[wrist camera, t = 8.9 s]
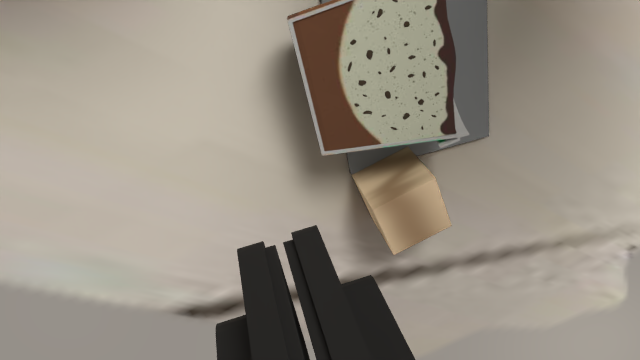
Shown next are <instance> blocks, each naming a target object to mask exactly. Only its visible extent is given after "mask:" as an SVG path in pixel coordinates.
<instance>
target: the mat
mask: <svg viewBox="0 0 640 360" xmlns="http://www.w3.org/2000/svg"><path fill="white" fill-rule="evenodd" d="M329 1H331V0H321V4H323V3H326V2H329ZM446 6H447V17H448V21H449V25H450V29H451V33H452V37H453V41H454V46H455V52H456V72H455V82H454V101H455V104H456V107H457V110H458V112H459V115H460V117H461V120H462V122H463V124H464V126H465V128H466V129H467V131H468V133H469V135H468V136H464V137H460V141H458V142H455V143H453V144H450V145H448V146H445V147H443V148H440V147H439V145H438V143H437V141H429V142H422V143H414V144H407V145H399V146H392V147H384V148H377V149H369V150H362V151H355V152H347V158H348V164H349V170H350V173H351V174H355V173H357V172H359V171H361V170H363V169H364V168H366V167H368V166H370V165H372V164H374V163H376V162H378V161H380V160H382V159H384V158H386V157H388V156H390V155H392V154H394V153H396V152H398V151H400V150H402V149H403V148H405V147H407V146H408V147H409V148H410V150H411V151H412V152H413V153H414V154H415V155H416V156H419V155H423V154H426V153H430V152H434V151H437V150H441V149H444V148H448V147H451V146H455V145H459V144H462V143H466V142H469V141H473V140H477V139H480V138H484V137H487V136H489V102H488V35H487V0H446Z"/></svg>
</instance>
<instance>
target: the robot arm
mask: <svg viewBox="0 0 640 360" xmlns="http://www.w3.org/2000/svg"><path fill="white" fill-rule="evenodd" d="M291 234H292V238H293V240H290V241H287V242H283V244H284V247H285V251H286V254H287V258H288V261H289V265H290V268H291V272H292V275H293V279H294V282H295V286H296V289H297V293H298V296H299V300H300V303H301V307H302V310H303V314H304V317H305V321H306V324H307V328H308V331H309V335H310V338H311V342H312V346H313V349H314V352H315V356H316V360H415V358H414V356H413V354H412V352H411V350H410V348H409V346H408V344H407V342H406V340H405V339H404V337H403V335H402V333H401V331H400V329H399V327H398V325H397V323H396V321H395V319H394V317H393V315H392V313H391V311H390V309H389V307H388V305H387V303H386V301H385V299H384V297H383V295H382V293H381V291H380V289H379V287H378V286H377V284H376V282H375V280H374V278H373V277H372V276H371V275H370V276H367V277H363V278H360V279H357V280H354V281H351V282H348V283H345V284H341V283H340V281H339V279H338V276H337V274H336V271H335V269H334V266H333V264H332V262H331V259H330V257H329V254H328V252H327V249H326V247H325V244H324V242H323V240H322V237H321V235H320V232H319V230H318V228H317V226H316V225H315V226H312V227H309V228H305V229H302V230H299V231H295V232H292V233H291ZM237 254H238V261H239V268H240V275H241V283H242V290H243V297H244V304H245V312H246V315H243V316H240V317H237V318H234V319H231V320H228V321H224V322H221V323H218V324H217V325H216V346H217V360H310V359H309V355H308V351H307V348H306V344H305V341H304V337H303V334H302V331H301V327H300V324H299V321H298V318H297V314H296V311H295V308H294V305H293V301H292V298H291V295H290V292H289V288H288V285H287V282H286V279H285V275H284V272H283V269H282V266H281V262H280V259H279V256H278V253H277V249H276V246H275V245H273V246H270V247H267V248H265V245H264V242H263V241H262V242H259V243H256V244H252V245H249V246H246V247H242V248H239V249H237Z"/></svg>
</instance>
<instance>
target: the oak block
mask: <svg viewBox="0 0 640 360" xmlns="http://www.w3.org/2000/svg"><path fill="white" fill-rule="evenodd" d="M352 177H353V179H354V181H355V183H356V185H357V187H358V190H359V192H360V194H361V196H362V198H363V200H364V202H365V204H366V207H367V209H368V211H369V213H370V215H371V217H372V219H373V221H374V222H375V224H376V226H377V228H378V229H379V231H380V233H381V234H382V236H383V238H384V239H385V241H386V243H387V244H388V246H389V248H390V250H391V251H392V253H393V255H395V254H397V253H399V252H401V251H403V250H405V249H407V248H409V247H411V246H413V245H415V244H417V243H419V242H421V241H423V240H425V239H427V238H428V237H430V236H432V235H434V234H436V233H438V232H440V231H442V230H444V229H446V228H448V227H450V226H452V225H451V222H450V219H449V216H448V213H447V210H446V207H445V204H444V201H443V199H442V196H441V193H440V190H439V187H438V184H437V181H436V178H435V177H434V176H433V175H432V173H431V172H430V171H429V170H428V169H427V168H426V167H425V165H424V164H423V163H422V162H421V161H420V160H419V159H418V158H417V156H416V155H415V154H414V153H413V152H412V151H411V150H410V148H409V147H408V146H407V147H405V148H403V149H402V150H400V151H398V152H396V153H394V154H392V155H390V156H388V157H386V158H384V159H382V160H380V161H378V162H376V163H374V164H372V165H370V166H368V167H366V168H364V169H363V170H361V171H359V172H357V173H355V174H353V175H352Z"/></svg>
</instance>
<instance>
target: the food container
mask: <svg viewBox="0 0 640 360" xmlns="http://www.w3.org/2000/svg"><path fill="white" fill-rule="evenodd" d="M287 20H288V24H289V28H290V32H291V36H292V40H293V44H294V48H295V51H296V55H297V59H298V63H299V67H300V71H301V75H302V79H303V83H304V87H305V91H306V95H307V99H308V103H309V107H310V110H311V114H312V118H313V122H314V126H315V130H316V134H317V138H318V142H319V146H320V150H321V154H322V156H325V155H332V154H340V153H347V152H355V151H362V150H369V149H377V148H384V147H392V146H399V145H407V144H414V143H422V142H429V141H437V143H438V145H439V147H440V148H443V147H445V146H448V145H450V144H453V143H455V142H458V141H460V137H464V136H468V135H469V133H468V131H467V129H466V128H465V126H464V124H463V122H462V120H461V117H460V115H459V112H458V110H457V107H456V104H455V101H454V82H455V72H456V52H455V46H454V41H453V37H452V33H451V29H450V25H449V21H448V17H447V6H446V0H331V1H329V2H326V3H323V4H320V5H318V6H315V7H312V8H309V9H306V10H304V11H301V12H298V13H295V14H292V15H290V16H288V17H287Z"/></svg>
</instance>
